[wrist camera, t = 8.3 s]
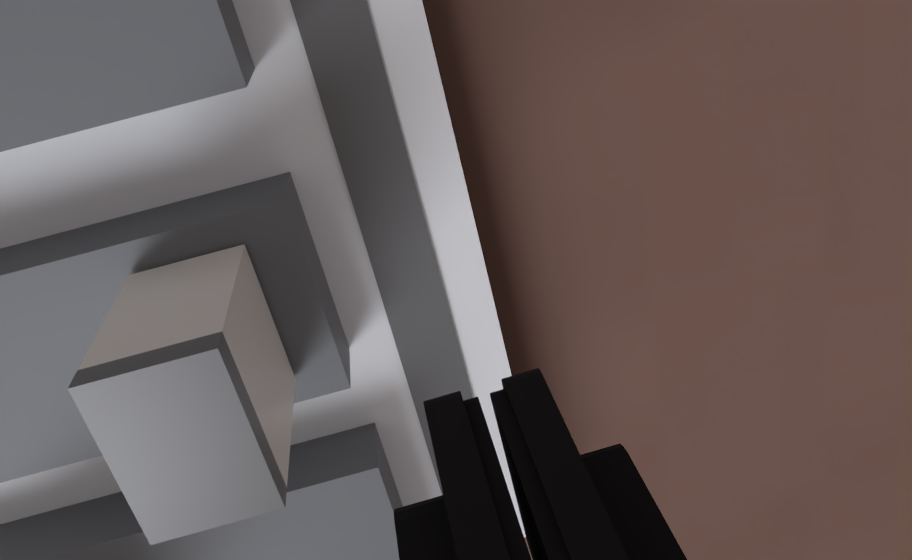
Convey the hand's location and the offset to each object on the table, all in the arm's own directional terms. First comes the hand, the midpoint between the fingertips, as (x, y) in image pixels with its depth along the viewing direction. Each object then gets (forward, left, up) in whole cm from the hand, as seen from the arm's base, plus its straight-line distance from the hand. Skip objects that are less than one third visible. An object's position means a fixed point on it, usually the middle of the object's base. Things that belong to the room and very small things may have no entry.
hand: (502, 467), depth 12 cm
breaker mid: (+5, 0, -8) cm, 10 cm away
